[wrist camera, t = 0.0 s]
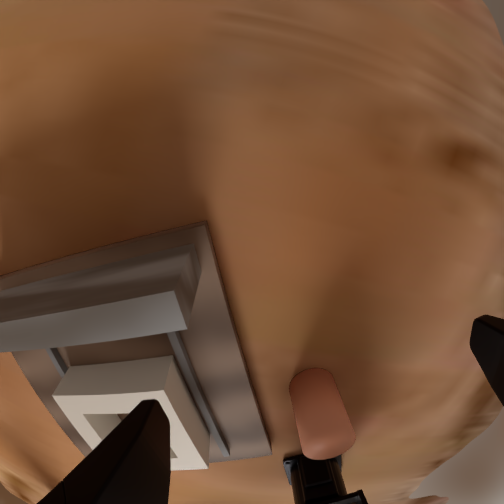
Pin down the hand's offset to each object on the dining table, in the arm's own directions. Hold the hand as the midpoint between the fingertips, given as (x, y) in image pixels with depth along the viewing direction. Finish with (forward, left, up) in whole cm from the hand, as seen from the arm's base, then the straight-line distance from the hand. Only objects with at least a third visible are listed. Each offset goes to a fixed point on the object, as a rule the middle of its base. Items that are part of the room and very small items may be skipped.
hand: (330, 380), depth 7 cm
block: (-12, +14, -14) cm, 23 cm away
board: (-10, +15, -15) cm, 23 cm away
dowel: (-14, -1, -15) cm, 21 cm away
